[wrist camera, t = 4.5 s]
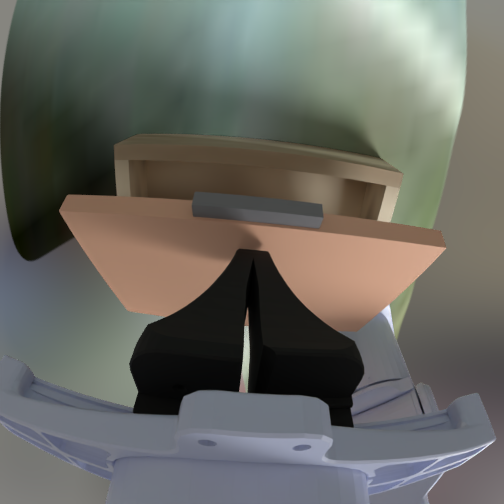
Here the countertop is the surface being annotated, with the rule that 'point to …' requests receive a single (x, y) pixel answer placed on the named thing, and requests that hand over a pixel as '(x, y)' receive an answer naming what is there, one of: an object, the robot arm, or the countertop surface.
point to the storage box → (256, 172)
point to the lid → (254, 238)
